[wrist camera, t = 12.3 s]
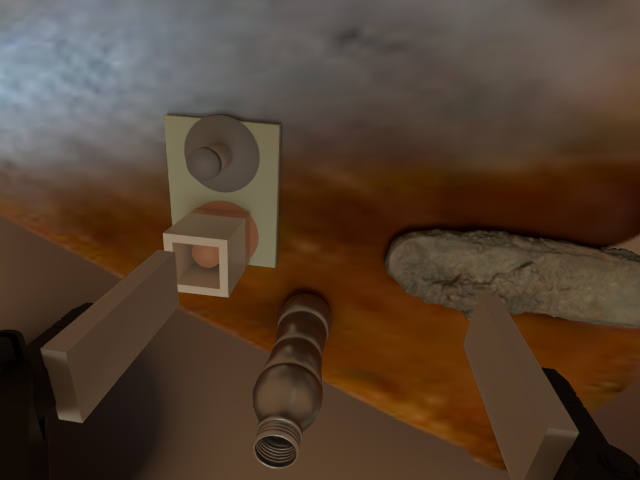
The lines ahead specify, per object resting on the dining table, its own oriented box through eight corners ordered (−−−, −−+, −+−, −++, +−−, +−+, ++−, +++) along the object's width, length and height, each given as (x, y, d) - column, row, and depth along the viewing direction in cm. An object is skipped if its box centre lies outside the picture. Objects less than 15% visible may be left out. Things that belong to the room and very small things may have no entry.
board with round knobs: (168, 109, 40) (134, 113, 34) (282, 119, 39) (267, 125, 33) (179, 256, 46) (152, 282, 40) (277, 266, 46) (264, 295, 39)
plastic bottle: (279, 328, 49) (232, 475, 30) (284, 282, 46) (235, 412, 28) (329, 335, 49) (312, 489, 30) (336, 290, 46) (322, 427, 28)
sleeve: (197, 207, 42) (162, 233, 35) (250, 212, 42) (227, 240, 34) (199, 256, 44) (167, 290, 37) (249, 261, 44) (228, 297, 37)
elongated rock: (664, 327, 46) (702, 250, 42) (705, 354, 41) (751, 270, 37) (376, 291, 45) (391, 211, 42) (381, 315, 40) (400, 226, 37)
